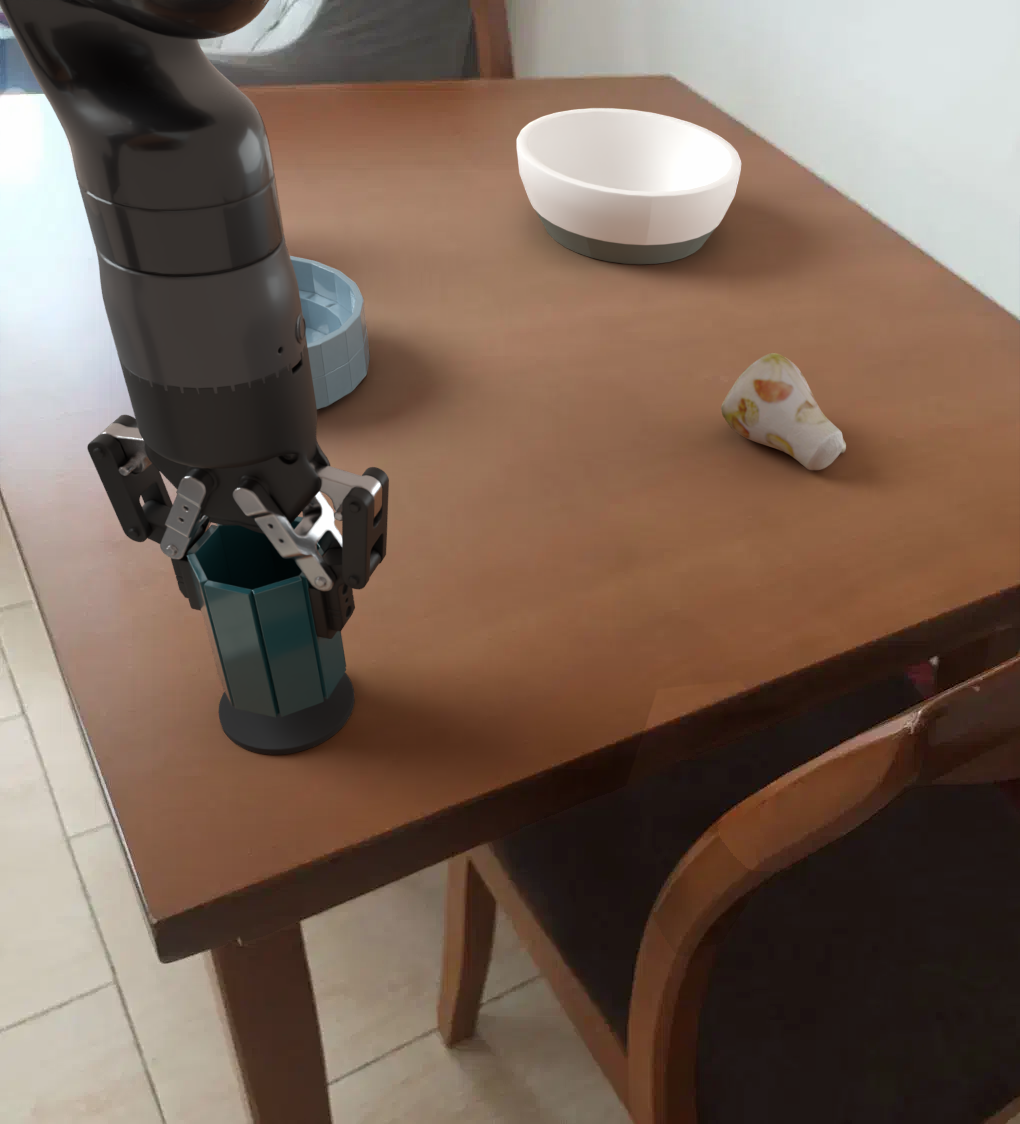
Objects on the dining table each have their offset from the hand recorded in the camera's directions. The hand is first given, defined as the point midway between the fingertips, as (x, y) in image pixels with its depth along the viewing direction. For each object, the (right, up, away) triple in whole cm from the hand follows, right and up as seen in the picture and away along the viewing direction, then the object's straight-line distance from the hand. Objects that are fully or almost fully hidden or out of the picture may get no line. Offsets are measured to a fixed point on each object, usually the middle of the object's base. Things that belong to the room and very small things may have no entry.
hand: (271, 613), depth 59 cm
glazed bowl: (-14, +18, +30) cm, 37 cm away
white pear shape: (+28, +12, +31) cm, 44 cm away
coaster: (-1, -6, +5) cm, 8 cm away
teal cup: (-1, -3, +3) cm, 5 cm away
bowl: (+12, +38, +58) cm, 71 cm away
